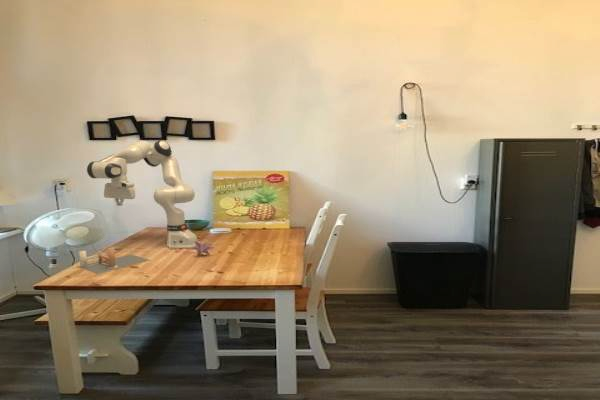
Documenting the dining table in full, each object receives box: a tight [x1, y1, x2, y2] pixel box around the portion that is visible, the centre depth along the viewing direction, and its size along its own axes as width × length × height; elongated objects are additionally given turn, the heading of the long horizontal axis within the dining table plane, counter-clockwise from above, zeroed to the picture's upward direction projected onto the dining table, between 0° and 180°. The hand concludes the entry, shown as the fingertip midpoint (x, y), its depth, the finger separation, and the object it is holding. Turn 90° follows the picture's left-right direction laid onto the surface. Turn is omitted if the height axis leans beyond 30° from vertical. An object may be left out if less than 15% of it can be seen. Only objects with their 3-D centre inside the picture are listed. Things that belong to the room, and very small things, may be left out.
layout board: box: [78, 253, 150, 275], centre depth 212 cm, size 22×30×1 cm
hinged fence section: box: [100, 246, 116, 267], centre depth 208 cm, size 3×14×10 cm, turn 51°
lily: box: [190, 240, 215, 255], centre depth 224 cm, size 12×12×10 cm
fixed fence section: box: [78, 250, 103, 269], centre depth 209 cm, size 3×12×8 cm, turn 143°
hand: (119, 205), depth 236 cm, fingers closed
